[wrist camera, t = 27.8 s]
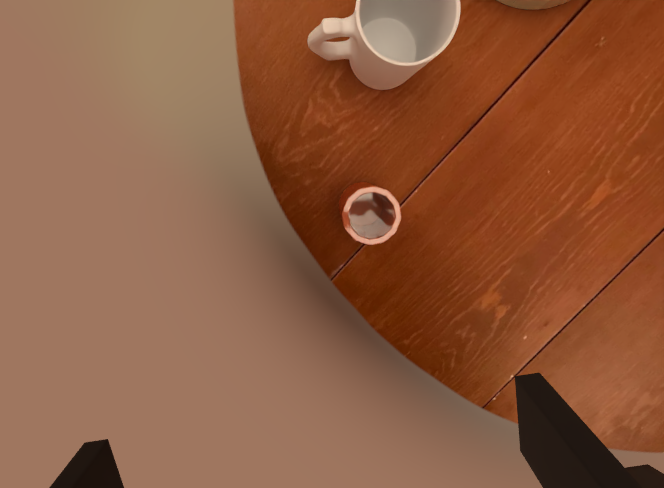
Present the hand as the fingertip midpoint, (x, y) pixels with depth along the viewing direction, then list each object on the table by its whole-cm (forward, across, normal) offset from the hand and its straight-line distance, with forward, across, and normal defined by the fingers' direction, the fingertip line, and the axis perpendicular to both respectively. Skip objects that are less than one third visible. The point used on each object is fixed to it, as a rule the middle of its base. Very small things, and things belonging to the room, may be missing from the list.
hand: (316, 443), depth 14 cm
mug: (+31, +6, +16) cm, 36 cm away
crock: (+30, +4, +2) cm, 31 cm away
